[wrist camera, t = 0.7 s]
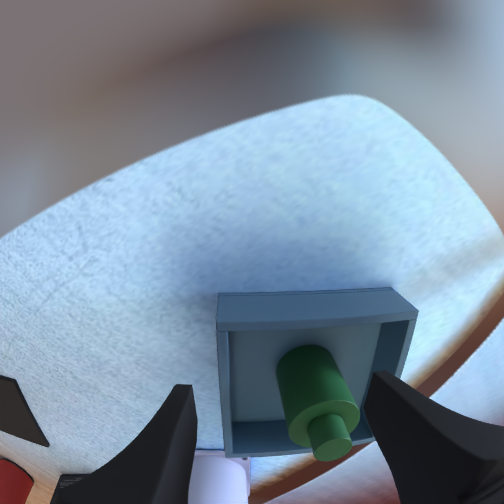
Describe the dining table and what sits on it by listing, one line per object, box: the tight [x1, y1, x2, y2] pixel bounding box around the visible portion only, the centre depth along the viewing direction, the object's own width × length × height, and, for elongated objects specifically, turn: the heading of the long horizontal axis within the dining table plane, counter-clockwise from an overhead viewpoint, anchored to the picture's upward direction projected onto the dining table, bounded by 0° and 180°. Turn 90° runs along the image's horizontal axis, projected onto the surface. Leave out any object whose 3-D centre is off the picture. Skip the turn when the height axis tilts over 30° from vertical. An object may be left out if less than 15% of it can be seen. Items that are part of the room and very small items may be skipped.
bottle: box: [276, 345, 360, 461], centre depth 18 cm, size 4×4×8 cm
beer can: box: [0, 459, 33, 504], centre depth 21 cm, size 7×7×12 cm
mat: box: [0, 376, 49, 447], centre depth 22 cm, size 10×10×1 cm
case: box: [216, 287, 419, 458], centre depth 20 cm, size 12×12×4 cm
